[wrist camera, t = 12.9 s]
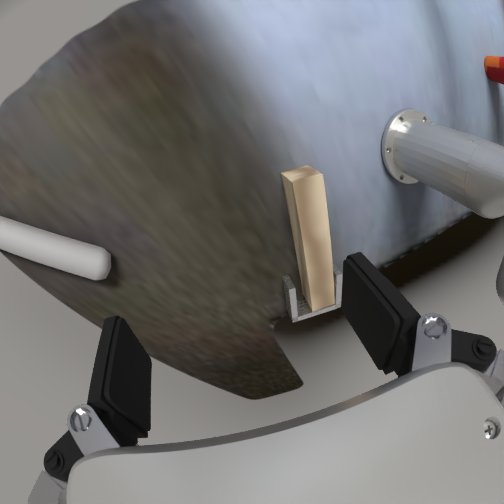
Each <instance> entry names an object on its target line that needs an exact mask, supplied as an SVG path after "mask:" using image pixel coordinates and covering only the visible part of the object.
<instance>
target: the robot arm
mask: <svg viewBox="0 0 504 504" xmlns="http://www.w3.org/2000/svg"><path fill="white" fill-rule="evenodd" d="M382 157H383V161H384V164H385V167H386V169H387V171H388V172H389V173H390V175H391V176H392V177H393V178H395V179H396V180H398V181H400V182H402V183H405V184H414V183H417V182H419V181H420V182H422V183H424V184H426V185H428V186H430V187H432V188H433V189H435V190H437V191H439V192H441V193H443V194H444V195H446V196H448V197H450V198H452V199H453V200H455V201H457V202H458V203H460V204H462V205H463V206H465V207H467V208H468V209H470V210H472V211H474V212H475V213H477V214H478V215H480V216H483V217H486V218H497V217H500V216H503V215H504V146H501V145H499V144H496V143H493V142H491V141H488V140H485V139H482V138H479V137H476V136H473V135H470V134H467V133H464V132H461V131H458V130H455V129H451V128H448V127H444V126H440V125H437V124H433V123H432V122H431V120H430V119H429V118H428V117H427V116H426V115H425V114H424V113H422V112H420V111H418V110H413V109H406V110H402V111H400V112H398V113H396V114H395V115H394V116H393V117H392V118H391V120H390V121H389V122H388V124H387V126H386V128H385V131H384V134H383V139H382ZM496 290H497V294H498V296H499V298H500V300H501V302H502V303H503V304H504V256H503V259H502V262H501V265H500V268H499V271H498V274H497V279H496ZM342 311H343V313H344V315H345V317H346V318H347V320H348V321H349V323H350V325H351V326H352V327H353V329H354V331H355V332H356V334H357V335H358V337H359V339H360V340H361V342H362V344H363V345H364V347H365V348H366V350H367V352H368V353H369V355H370V357H371V358H372V360H373V361H374V363H375V365H376V366H377V368H378V369H379V370H383V371H384V373H385V375H386V374H388V373H390V372H393V371H395V372H396V374H397V375H398V378H397V379H394V380H392V381H390V382H388V383H386V384H384V385H381V386H379V387H377V388H375V389H373V390H370V391H368V392H365V393H363V394H361V395H358V396H356V397H354V398H351V399H349V400H346V401H344V402H341V403H338V404H336V405H333V406H330V407H328V408H325V409H322V410H320V411H316V412H313V413H310V414H307V415H304V416H301V417H298V418H295V419H291V420H288V421H284V422H281V423H277V424H274V425H270V426H266V427H262V428H258V429H254V430H249V431H245V432H240V433H235V434H230V435H225V436H220V437H214V438H208V439H201V440H194V441H187V442H178V443H169V444H158V445H144V446H139V445H138V444H137V443H138V438H147V437H148V431H150V429H151V419H150V418H151V414H150V413H151V368H152V362H151V359H150V357H149V355H148V354H147V352H146V351H145V349H144V348H143V346H142V345H141V344H140V342H139V341H138V339H137V338H136V336H135V335H134V333H133V332H132V330H131V329H130V327H129V325H128V324H127V322H126V321H125V319H124V318H120V317H119V316H113V317H109V318H106V319H105V321H104V325H103V329H102V333H101V337H100V341H99V345H98V349H97V354H96V358H95V363H94V368H93V373H92V378H91V383H90V390H89V395H88V401H87V405H86V404H81V405H77V406H76V407H74V408H73V409H72V410H71V412H70V413H69V415H68V419H67V425H68V428H69V430H68V431H67V432H66V433H65V434H64V435H63V436H62V437H61V438H60V439H59V440H58V441H57V442H56V443H55V444H54V445H53V446H52V447H51V448H50V449H49V450H48V451H47V453H46V454H45V457H44V466H45V471H42V472H41V473H40V476H39V477H38V479H37V481H36V483H35V485H34V487H33V489H32V492H31V494H30V496H29V499H28V504H504V351H503V350H501V349H500V350H499V351H497V350H496V346H495V344H494V343H493V341H492V340H491V339H489V338H488V337H485V336H482V335H477V334H472V333H467V332H463V331H458V330H453V329H451V326H450V323H449V322H448V320H447V319H446V318H444V317H443V316H441V315H439V314H436V313H429V314H425V315H423V316H422V317H421V316H420V315H419V313H418V312H417V311H416V310H415V309H414V308H413V306H412V305H411V304H410V303H409V302H408V301H407V300H406V298H405V297H404V296H403V295H402V294H401V293H400V292H399V291H398V290H397V288H396V287H395V286H394V285H393V284H392V283H391V282H390V281H389V280H388V279H387V278H386V277H384V276H383V275H382V274H381V273H380V272H379V271H378V270H377V269H376V267H375V266H374V265H373V264H372V263H371V262H370V261H369V260H368V259H367V258H366V257H365V256H364V255H363V254H362V253H361V252H358V253H355V254H351V255H348V256H347V258H346V260H344V262H343V288H342Z"/></svg>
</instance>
